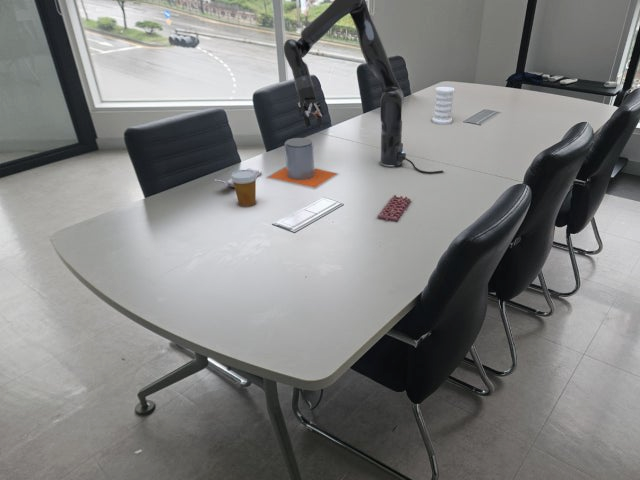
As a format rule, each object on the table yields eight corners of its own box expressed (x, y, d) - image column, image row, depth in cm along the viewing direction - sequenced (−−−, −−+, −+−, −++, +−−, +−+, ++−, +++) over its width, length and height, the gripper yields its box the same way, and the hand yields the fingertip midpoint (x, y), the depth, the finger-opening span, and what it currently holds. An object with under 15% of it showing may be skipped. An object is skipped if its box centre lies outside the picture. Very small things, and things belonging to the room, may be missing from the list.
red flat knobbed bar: (377, 219, 187) (377, 214, 186) (392, 199, 202) (392, 194, 201) (396, 222, 185) (396, 217, 184) (410, 201, 200) (410, 197, 199)
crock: (320, 172, 224) (318, 140, 216) (304, 182, 215) (302, 148, 207) (297, 168, 229) (295, 135, 221) (281, 176, 220) (278, 143, 212)
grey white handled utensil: (213, 179, 202) (250, 159, 221) (215, 193, 205) (251, 172, 224) (225, 182, 200) (262, 161, 219) (227, 196, 203) (263, 174, 222)
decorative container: (453, 124, 289) (456, 91, 279) (433, 123, 289) (435, 91, 279) (450, 118, 299) (453, 86, 289) (431, 118, 299) (433, 86, 289)
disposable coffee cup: (264, 200, 200) (260, 171, 193) (251, 210, 192) (247, 180, 186) (243, 196, 202) (239, 168, 196) (229, 206, 195) (225, 176, 188)
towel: (337, 174, 224) (337, 173, 224) (314, 188, 210) (314, 187, 210) (292, 164, 233) (292, 163, 233) (268, 177, 219) (268, 176, 219)
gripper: (301, 85, 210) (311, 124, 212) (321, 86, 221) (331, 123, 224) (287, 91, 214) (298, 129, 216) (309, 92, 225) (318, 128, 228)
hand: (315, 126), depth 220 cm, fingers open, 8 cm apart
